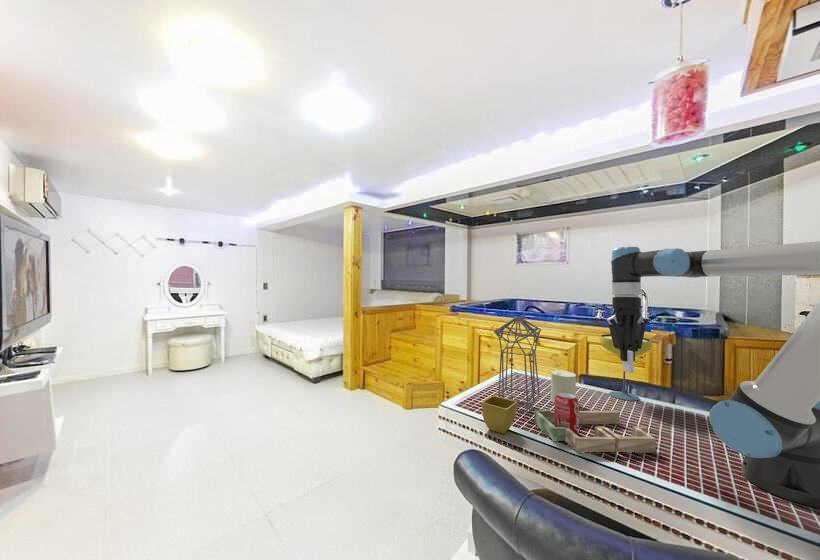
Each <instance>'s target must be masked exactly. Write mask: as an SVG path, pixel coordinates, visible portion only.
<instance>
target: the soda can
mask: <svg viewBox="0 0 820 560" xmlns="http://www.w3.org/2000/svg"><path fill="white" fill-rule="evenodd" d="M577 397H578V396H577V394H576V395H575V394H573V393H570V392H563V391H561V392H557V396H556V397H555V403H554V408H553V409H554V410H553V411H554V423H555V424H554V426H555V427H568V428H569V429H571V430H572V431H573V432H574V433H575V434H576V435H577V434H578V433H579V426H580V424H579V411H580V402H579V399H578V398H577Z"/></svg>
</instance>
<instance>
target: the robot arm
mask: <svg viewBox="0 0 820 560" xmlns="http://www.w3.org/2000/svg"><path fill="white" fill-rule="evenodd" d="M610 263H611V264H610V265H611V277H612V278H611V279H612V280H611V287H612V288H611V289H612V291H611V295H613V297H612V298H611V299H612V300H611V302H612V305H611V306H612V308H613V312H612V316H610V317H606V318H605V322H606V324H607V325H608V328H609V332H610V334H611V337H612V341H613V345H614V348H617V349H619V350H620V358H619V359H620V361H621V362H622V363H621V364H622V365H621V366H622V371H623V372H624V371H625V373H629V374H634V373H635V371H634V369H635V368H634V362H635V361H636V356H635V351H636V352H637V351H638V350H637V349H641V347H642V342H643V338H645V337H644V335H645V331H646V326H647V324H648V323H649V318H646V317H645V318H644V317H643V316H642V314H641V310H640V309H641V308H642V298H641V297H640V296H641V295H642V284H641V283H642V282H641V281H642V280H641V279H642V278H646V277H672V278H673V277H678V278H679V277H682V278H684V277H685V278H697V279H698V278H702V277H703V278H705V277H706V278H707V277H751V276H752V277H753V276H754V277H759V276H761V277H762V276H763V277H764V276H811V275H812V276H813V275H814V276H816V275H820V240H819V241H807V242H806V241H805V242H796V243H795V242H794V243H783V244H782V243H781V244H771V245H760V246H756V245H755V246H746V247H744V246H743V247H735V248H724V249H723V248H722V249H712V250H696V251H685V250H684V249H682V248H679V247H677V248H664V249H658V250H650V251H648V250H647V251H641V249H640V247H638V246H622V247H621V246H619V247H616V248H614V249H612V251H611V260H610ZM708 416H709V417H708V419H709V423H710V425H711V428H712V431H713V432H714V434H715V435H716V437H718V439H719V440H720V441H721V443H723V444H725V445H726V446H727V447H728V448H730V449H731V450H732V451H734V452H736V453H738V454H740V455H742V456H744V459H743V460H742V461H741V474H742V476H743V477H744V478H745V480H747V481H749V482H750V483H752V484H753V485H754V486H756V487H758V488H760V489H762V490H764V491H766V492H768V493H771V494H773V495H774V496H777V497H780V498H783V499H785V500H787V501H791V502H795V503H798V504H801V505H804V506H810V507H814V508H818V509H819V508H820V299H819V301H817V303H815V306H813V308H812V309H811V310H810V311H809V313H808V314H807V315H806V316H805V318H804V319H803V320H802V321H801V323H800V324H799V325H798V327H797V328H796V329H795V331H794V332H793V333H792V334H791V336H790V337H788V339H787V341H785V343H784V344H783V345H782V347H781V348H780V349H779V350H778V352H777V353H776V354H775V355H774V356H773V358H772V359H771V360H770V362H768V364H767V365H766V367H765V368H764V369H763V371H761V373H760V374H759V375H758V376H757V378H756V379H755V380H749V381H748V380H746V381H742V382H741V383H740V384H739V385H738V386H737V388H736V389H735V390H734V392H733V393H732V394H731V395H730V396H729V398H727V399H725V400H721V401H718V402H717V403H716V404H714V405H713V406H712V407H711V409H710V410H709V415H708Z"/></svg>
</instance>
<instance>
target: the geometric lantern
mask: <svg viewBox="0 0 820 560" xmlns="http://www.w3.org/2000/svg"><path fill="white" fill-rule="evenodd" d="M510 325H511V326H510ZM521 325H522V326H523V328H524V329H521ZM509 326H510V327H509ZM514 326H515V328H514ZM505 329H507V330H508V332H507V333H506V332H504V330H505ZM513 330H514V331H513ZM518 331H519V334H518ZM541 331H542V329H541V328H539V327H538V326H536V325H535V324H532V323H531V322H529V321H527V320H526V319H524V318H522V317H521V316H514V317H513V318H512V319H510V320H509V321H507V322H506V323H504V324H503V325H501V326H500V327H498V328H497V329H495V330H494V331H493V333H494V334H495V336H496V337H498V340H499V347H500V359H499V360H500V361H499V373H498V374H499V375H498V376H499V377H498V378H499V379H498V396H497V397H501V398H505V399H509V400H513V401H516V402H517V406H518V407H521V408H522V407H523V408H525V409H526V410H520V409H516V412H522V413H525V414H528V413H531V411H532V408H533V404H535V403H536V402H537V400H538V398H539V397H540V395H541V394H540V386H539V385H540V383H539V376H538V375H539V373H538V364H537V354H536V351H537V347H538V346H537V345H538V341H539V337H540V334H541ZM511 332H512V333H511ZM521 332H526V334H525V333H524V334H522V333H521ZM503 335H506V336H507V338H505V337H504V336H503ZM510 336H513V337H514V341H513V340H510V339H509V337H510ZM531 336H533V343H532V344H531V343H530V341H529V339H528V338H529V337H531ZM519 338H520V339H519ZM501 339H502V340H503V342H504V343H505V347H504V349H503V348H502V340H501ZM525 339H526V340H527V343H528V345H530V348H528V347H527V348H526V347H522V346H521V345H520V342H521V341H523V340H525ZM509 344H512V345H511V346H509ZM516 344H517V345H518V347H515V345H516ZM509 349H510V351H511V352H509ZM513 349H518V350H519V349H520V350H521V351H522V353H515V352H513ZM505 350H506V351H505ZM525 350H530V351H529V353H526V352H525ZM504 354H506V356H505V357H506V358H505V359H506V361H505V376H504ZM509 354H510V387H507V386H508V360H509ZM513 355H516V356H517V355H519V356H523V357H524V358H523V359H524V374H525V375H524V379H525V389H521V388H513ZM531 356H532V357H531ZM527 357H528V358H529V360H528V361H529V371H530V382H531V390H529V389H528V373H527ZM535 375H536V376H535ZM504 377H505V378H504ZM535 377H536V380H535ZM504 379H505V380H504ZM504 383H505V385H504ZM536 386H537V391H536ZM508 390H509V391H511V392H510V393H509V391H508ZM513 391H519V392H525V394H526V396H525V397H526V398H525V397H517V396H513ZM505 392H506V393H507V395H508V397H509V398H508V397H507V398H506V397H505ZM529 393H531V394H532V395H531V396H530V397H529ZM510 394H511V395H510ZM535 394H536V396H535ZM516 399H520V400H516ZM521 400H525V401H521ZM520 404H522V405H520Z"/></svg>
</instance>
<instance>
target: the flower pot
mask: <svg viewBox="0 0 820 560" xmlns="http://www.w3.org/2000/svg"><path fill="white" fill-rule="evenodd" d="M501 397H502V396H500V397H498V396H497V395H496V396H495V395H492V396H491V395H490V396H489V397H488V398H486V399H484V400H483V401H482V402H481V411H482V417H483V421H484V424H485V426H486V428H487V429H489V430H490V431H493V432H496V433H498V434H505V433H506V432H507V431H509V429H510V428H511V427H512V425H513V423H514V421H515V418H516V413H517V411H516V410H517V405H518V403H517V402H516V401H513V400H514V399H513V400H509V398H507V399H505V398H506V397H504V398H501Z"/></svg>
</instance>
